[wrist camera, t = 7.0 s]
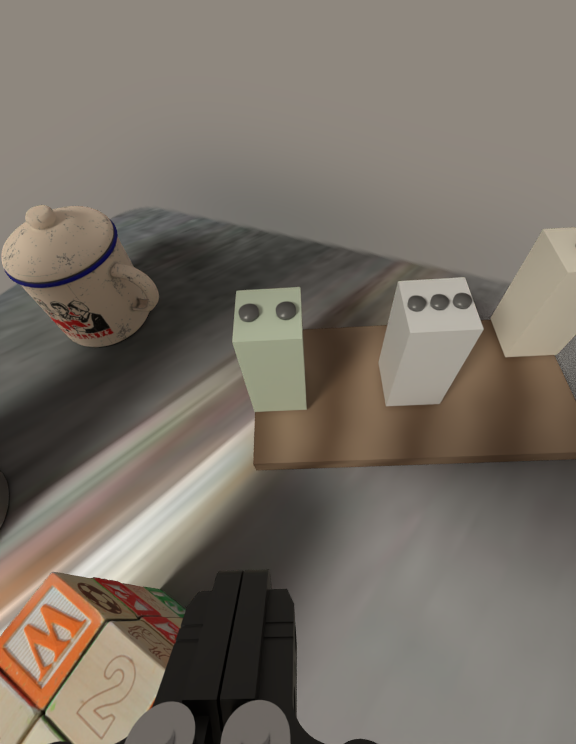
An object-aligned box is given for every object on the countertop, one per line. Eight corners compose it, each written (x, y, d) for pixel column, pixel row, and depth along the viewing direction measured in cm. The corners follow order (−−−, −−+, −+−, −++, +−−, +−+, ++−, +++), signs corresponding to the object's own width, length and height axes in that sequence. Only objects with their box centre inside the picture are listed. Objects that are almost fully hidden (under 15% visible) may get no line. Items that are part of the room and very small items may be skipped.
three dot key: (385, 406, 29) (411, 329, 21) (378, 362, 31) (398, 277, 23) (439, 403, 29) (485, 325, 21) (428, 359, 31) (466, 273, 23)
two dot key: (254, 411, 29) (231, 339, 21) (256, 368, 31) (235, 287, 24) (306, 409, 29) (302, 335, 21) (304, 365, 31) (300, 283, 23)
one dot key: (505, 357, 30) (570, 268, 22) (490, 318, 32) (545, 225, 25) (557, 354, 30) (641, 264, 22) (538, 315, 32) (609, 221, 24)
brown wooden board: (256, 470, 29) (253, 463, 27) (260, 342, 35) (258, 332, 34) (586, 458, 28) (599, 451, 26) (528, 328, 34) (536, 317, 33)
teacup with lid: (44, 339, 37) (-55, 241, 27) (96, 274, 41) (27, 170, 32) (151, 368, 34) (84, 270, 25) (195, 295, 39) (153, 188, 29)
